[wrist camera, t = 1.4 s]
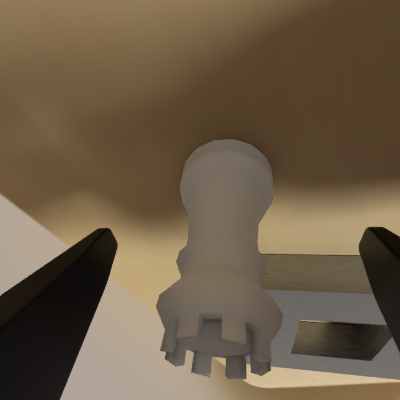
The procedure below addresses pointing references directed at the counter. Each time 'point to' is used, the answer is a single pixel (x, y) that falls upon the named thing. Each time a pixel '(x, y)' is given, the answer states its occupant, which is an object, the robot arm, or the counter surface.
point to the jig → (328, 317)
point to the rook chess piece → (222, 264)
